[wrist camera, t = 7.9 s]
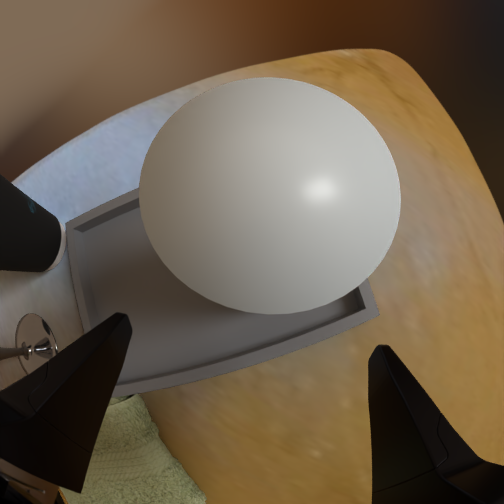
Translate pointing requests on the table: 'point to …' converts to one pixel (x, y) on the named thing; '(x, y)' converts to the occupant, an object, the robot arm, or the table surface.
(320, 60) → the table surface
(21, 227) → the dixie cup
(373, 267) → the white cylinder
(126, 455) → the washcloth
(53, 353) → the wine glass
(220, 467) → the table surface
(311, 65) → the table surface
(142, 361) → the tray
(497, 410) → the table surface
